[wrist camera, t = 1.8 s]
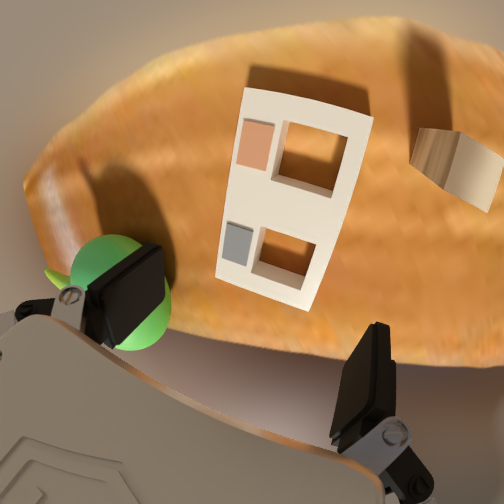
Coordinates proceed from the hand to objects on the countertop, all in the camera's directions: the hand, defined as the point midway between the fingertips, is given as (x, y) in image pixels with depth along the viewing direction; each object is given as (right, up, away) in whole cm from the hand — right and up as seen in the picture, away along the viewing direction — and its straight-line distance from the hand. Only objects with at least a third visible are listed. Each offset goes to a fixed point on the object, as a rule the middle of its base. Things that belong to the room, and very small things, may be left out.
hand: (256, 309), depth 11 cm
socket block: (+4, +8, +18) cm, 20 cm away
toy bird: (-18, -1, +31) cm, 36 cm away
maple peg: (+18, +12, +10) cm, 23 cm away
